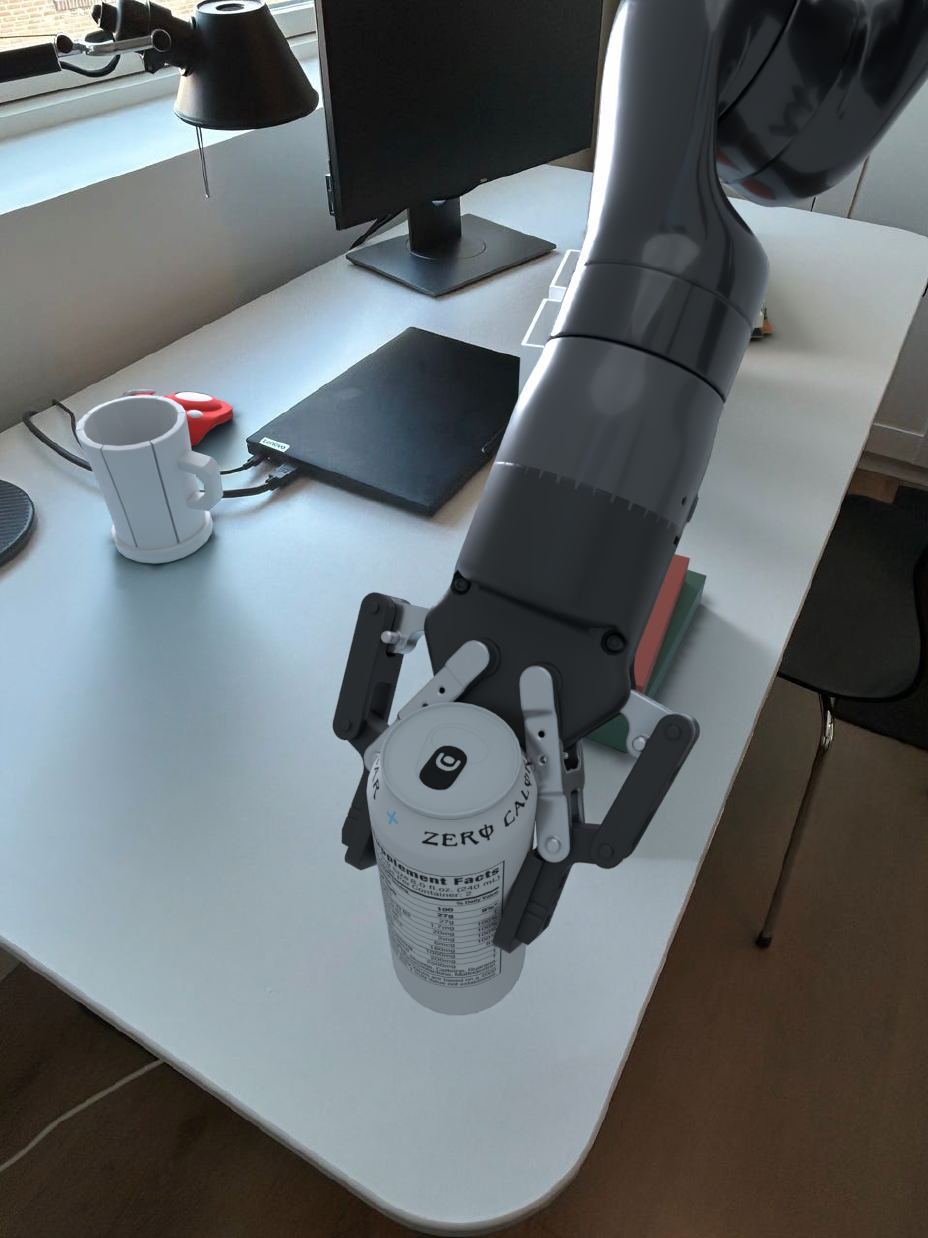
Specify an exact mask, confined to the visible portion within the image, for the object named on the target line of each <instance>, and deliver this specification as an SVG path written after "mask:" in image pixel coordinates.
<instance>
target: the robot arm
mask: <svg viewBox="0 0 928 1238" xmlns="http://www.w3.org/2000/svg"><path fill="white" fill-rule="evenodd" d="M602 70H603V71H602V77H601V86H600V95H599V103H598V104H599V105H598V116H597V129H596V130H597V131H596V141H595V144H596V145H595V150H594V152H595V153H594V162H593V170H592V176H591V184H590V190H589V197H588V206H587V213H586V214H587V215H586V221H585V228H584V235H583V239H582V245H581V247H580V253H579V256H578V259H577V261H576V264H575V267H574V269H573V272H572V275H571V278H570V280H569V282H568V285H567V288H566V290H565V293H564V296H563V298H562V301H561V304H560V306H559V309H558V312H557V314H556V317H555V320H554V322H553V325H552V328H551V330H550V333H549V336H548V338H547V341H546V342H547V343H546V344H545V346H544V349H543V351H542V353H541V356H540V358H539V360H538V362H537V364H536V366H535V368H534V369H533V371H532V373H531V375H530V377H529V378H528V380H527V382H526V384H525V386H524V388H523V390H522V392H521V394H520V396H519V395H518V398H517V401H516V403H515V405H514V408H513V410H512V413H511V415H510V418H509V421H508V423H507V427H506V429H505V432H504V434H503V437H502V440H501V443H500V446H499V448H498V449H497V453H496V456H495V459H494V461H493V464H492V466H491V468H490V471H489V474H488V477H487V480H486V482H485V485H484V486H483V487H484V488H483V490H482V492H481V495H480V496H481V497H480V498H479V501H478V504H477V506H476V509H475V511H474V515H473V517H472V520H471V522H470V525H469V528H468V529H467V533H466V535H465V538H464V541H463V543H462V546H461V548H460V552H459V554H458V557H457V559H456V562H455V565H454V570H453V575H452V578H451V582H450V585H449V587H448V589H447V590H446V591H445V593H443V595H442V596H441V597H440V598H439V599H438V600H437V601H436V602H434V604H433V605H432V606H431V607H429V608H427V607H424V606H419V605H414V604H411V602H410V601H409V600H407V599H404V598H400V597H397V596H393V595H388V594H385V593H380V592H376V591H374V592H369V593H368V594H366V595H365V596H364V597H363V599H362V601H361V603H360V606H359V609H358V610H359V611H358V614H357V619H356V623H355V628H354V632H353V635H352V640H351V644H350V648H349V652H348V656H347V661H346V665H345V669H344V674H343V678H342V682H341V686H340V690H339V694H338V698H337V702H336V706H335V710H334V714H333V718H332V731H333V733H334V735H335V736H336V738H337V739H339V740H341V741H347V742H348V743H349V744H350V746H352V747H353V749H355V751H356V752H357V753H358V754H359V755H360V758H361V760H362V765H363V770H362V773H361V774H362V775H361V777H360V779H359V782H358V785H357V788H356V790H355V793H354V795H353V798H352V801H351V804H350V806H349V809H348V812H347V816H346V817H345V820H344V822H343V825H342V827H341V828H342V829H341V844H343V845H344V846H346V847H347V848H346V851H345V854H344V862H345V863H346V864H348V865H350V866H352V867H353V868H355V869H356V870H359V871H364V870H367V869H369V868H373V867H375V866H377V859H376V853H375V846H374V840H373V833H372V827H371V821H370V814H369V808H368V800H367V784H368V777H369V774H370V772H371V769H372V766H373V764H374V762H375V761H376V759H377V758H378V756H379V754H380V753H381V749H382V746H383V743H384V741H385V739H386V737H387V735H388V734H389V732H390V731H391V729H392V728H393V727H394V726H395V725H396V724H397V723H398V722H399V721H400V720H401V719H403V718H404V717H406V716H407V715H408V714H410V713H412V712H414V711H416V710H418V709H420V708H423V707H426V706H429V705H433V704H438V703H445V702H460V703H466V704H472V705H475V706H478V707H482V708H485V709H486V710H488V711H490V712H492V713H494V714H496V715H497V716H498V717H500V718H501V719H502V720H504V721H505V722H506V723H507V725H508V726H509V727H510V728H511V729H512V730H513V732H514V734H515V736H516V737H517V739H518V742H519V745H520V747H521V749H522V750H523V751H524V752H525V753H526V755H527V762H528V764H529V766H530V769H531V771H532V773H533V775H534V778H535V782H536V785H537V804H536V813H535V837H536V846H535V848H533V850H531V851H529V852H528V853H527V855H526V857H525V859H524V862H523V864H522V866H521V868H520V870H519V873H518V875H517V877H516V880H515V883H514V885H513V888H512V890H511V893H510V896H509V898H508V901H507V903H506V906H505V909H504V911H503V914H502V916H501V919H500V922H499V924H498V927H497V929H496V932H495V935H494V937H493V941H492V944H493V945H494V946H496V947H498V948H500V949H502V950H504V951H505V952H507V953H509V954H510V953H511V952H513V951H514V950H515V949H516V948H518V947H519V946H520V945H521V944H522V943H524V944H526V946H529V945H531V944H532V943H533V942H534V941H535V940H536V939H537V938H539V937H540V936H541V935H542V934H543V933H544V932H545V931H546V930H547V928H548V927H550V924H551V921H552V919H553V916H554V913H555V911H556V908H557V907H558V905H559V904H558V903H559V901H560V898H561V896H562V892H563V890H564V888H565V886H566V882H567V880H568V878H569V875H570V873H571V871H572V868H573V866H574V864H589V865H590V864H591V865H595V866H597V867H598V868H601V869H604V870H611V869H614V868H616V867H618V866H619V865H620V864H621V863H622V862H623V861H624V860H626V859H627V858H629V857H630V856H631V855H632V854H633V853H634V852H635V851H636V848H637V847H638V845H639V844H640V843H641V842H640V841H641V840H642V838H643V837H644V834H645V833H646V831H647V829H648V828H649V826H650V824H651V822H652V821H653V819H654V818H655V816H656V813H657V812H658V810H659V808H660V806H661V805H662V803H663V801H664V800H665V798H666V796H667V794H668V793H669V791H670V789H671V787H672V785H673V783H674V782H675V780H676V779H677V777H678V775H679V773H680V772H681V770H682V768H683V766H684V764H685V762H686V761H687V759H688V757H689V756H690V753H691V752H692V750H693V749H694V747H695V744H696V743H697V741H698V740H699V738H700V734H701V727H700V724H699V722H698V720H697V719H696V718H695V717H694V716H693V715H690V714H688V713H684V712H676V711H674V710H672V709H671V708H668V707H667V706H665V705H664V704H661V703H660V702H658V701H656V700H654V698H653V699H651V698H649V697H647V696H646V695H644V694H642V693H640V692H639V691H637V690H636V680H635V673H634V664H635V657H636V653H637V650H638V647H639V645H640V642H641V639H642V637H643V634H644V632H645V629H646V626H647V624H648V621H649V619H650V616H651V613H652V611H653V608H654V606H655V603H656V601H657V598H658V595H659V593H660V590H661V588H662V585H663V582H664V580H665V577H666V575H667V572H668V570H669V567H670V564H671V562H672V559H673V557H674V554H676V552H677V549H678V547H679V544H680V542H681V539H682V536H683V533H684V531H685V528H686V526H687V525H688V524H689V523H690V522H691V520H692V518H693V515H694V513H695V511H696V508H697V506H698V503H699V500H700V497H699V492H700V490H701V487H702V485H703V482H704V479H705V477H706V474H707V470H708V467H709V464H710V461H711V457H712V454H713V450H714V445H715V441H716V437H717V432H718V428H719V424H720V419H721V417H722V414H723V412H724V408H725V405H726V403H727V400H728V397H729V395H730V393H731V390H732V388H733V385H734V382H735V381H736V377H737V375H738V372H739V369H740V367H741V364H742V361H743V360H744V356H745V354H746V351H747V349H748V347H749V343H750V341H751V338H752V337H751V335H752V333H753V330H754V328H755V325H756V323H757V320H758V318H759V315H760V312H761V309H762V310H763V306H764V303H765V300H766V296H767V293H768V289H769V284H770V283H769V282H770V262H769V258H768V255H767V253H766V250H765V249H764V247H763V245H762V243H761V242H760V240H759V238H758V237H757V235H756V234H755V233H754V231H753V229H751V227H750V225H748V223H747V222H746V221H745V220H744V219H743V217H742V216H741V214H740V213H739V212H738V210H737V209H736V208H735V207H734V205H733V203H732V202H731V200H730V199H729V198H728V196H727V194H726V193H725V190H724V188H723V186H725V187H726V188H728V189H729V190H731V191H732V192H733V193H734V194H737V195H738V196H739V197H741V198H743V200H746V201H748V202H750V203H753V204H755V205H757V206H759V207H764V208H782V207H783V208H784V207H789V206H793V205H797V204H801V203H804V202H807V201H809V200H813V199H815V198H817V197H819V196H820V195H822V194H824V193H827V192H828V191H830V190H832V189H833V188H836V186H837V185H839V184H840V183H842V182H843V181H845V180H846V179H847V178H848V177H849V176H850V175H852V173H854V172H855V171H856V170H857V169H858V168H859V167H860V166H861V165H862V164H863V163H864V162H865V161H866V160H867V159H868V157H869V156H870V155H871V154H872V153H873V152H874V150H875V149H876V148H877V147H878V146H879V145H880V144H881V142H882V141H883V139H884V138H885V137H886V136H887V135H888V133H889V132H890V130H891V129H892V128H893V127H894V125H895V124H896V122H897V121H898V120H899V119H900V117H901V116H902V114H903V113H904V112H905V111H906V109H907V108H908V106H909V105H910V104H911V102H913V100H914V99H915V97H916V96H917V95H918V93H919V92H920V90H921V89H922V88H923V87H924V85H925V84H926V83H927V82H928V0H620V3H619V5H618V8H617V11H616V13H615V17H614V20H613V24H612V27H611V31H610V34H609V39H608V42H607V46H606V51H605V57H604V63H603V69H602ZM722 185H723V186H722ZM423 636H424V639H425V643H426V647H427V652H428V657H429V661H430V666H431V670H432V675H433V677H432V678H431V679H430V680H428V682H427V683H426V684H424V686H423V687H421V689H420V690H419V691H417V693H416V694H415V695H414V696H413V697H412V698H411V699H409V700H408V702H406V703H405V705H404V706H403V707H402V708H401V709H399V711H398V712H397V714H396V718H395V720H394V721H393V722H392V723H391V724H390V725H389V724H388V723H389V719H390V715H391V710H392V708H393V707H392V706H393V703H394V699H395V694H396V690H397V686H398V681H399V678H400V673H401V670H402V665H403V661H404V657H405V655H409V654H410V653H412V652H413V651H414V650H415V648H416V647H417V644H418V641H420V639H421V638H422V637H423ZM620 714H623V715H624V716H625V717H626V719H627V721H628V723H629V733H628V736H627V738H626V747H627V750H628V752H627V753H629V755H630V756H631V757H632V758H633V759H635V760H636V761H635V763H634V764H633V766H632V768H631V770H630V772H629V773H628V775H627V777H626V778H625V780H624V782H623V784H622V786H621V787H620V789H619V791H618V793H617V795H616V797H615V798H614V800H613V801H612V804H611V805H610V807H609V809H608V811H607V812H606V814H605V816H604V818H603V820H602V821H601V823H593V822H592V823H591V822H586V814H585V802H584V788H585V783H586V771H585V770H586V769H585V757H584V745H583V739H584V738H586V737H585V736H587V735H588V734H590V733H592V732H593V731H595V730H596V729H598V728H600V727H601V726H603V725H604V724H606V723H608V722H609V721H611V720H612V719H614V718H615V717H617V716H619V715H620ZM566 754H567V756H566ZM545 759H546V761H545Z"/></svg>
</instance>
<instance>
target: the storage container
mask: <svg viewBox="0 0 928 1238" xmlns="http://www.w3.org/2000/svg"><path fill="white" fill-rule="evenodd" d="M580 250H581V249H580ZM580 250H578V249H571V248H569V249H567V250H566V252H565V254H564V256H563V258H562V260H561V262H560V264H559V267H558V269H557V270H556V272H555V275H554V277H553V278H552V281H551V282H550V285H549V286H548V287H549V288H548V289H549V290H548V298H543V299H542V301H541V302H540V305H539V308H538V309H537V311H536V313H535V315H534V317H533V319H532V321H531V324H530V325H529V326H528V327H529V328H528V329H527V330H526V331H527V332H526V333H525V336H524V338H523V339H522V342H521V344H520V352H519V353H520V355H519V374H518V375H519V380H518V397H519V396H520V394H521V392H522V390H523V388H524V386H525V384H526V382H527V380H528V378H529V377H530V375H531V373H532V371H533V369H534V368H535V366H536V364H537V362H538V360H539V358H540V356H541V353H542V351H543V349H544V346H545V344H546V343H547V342H546V341H547V338H548V336H549V333H550V330H551V328H552V325H553V322H554V320H555V317H556V314H557V312H558V309H559V306H560V304H561V301H562V298H563V296H564V293H565V290H566V288H567V285H568V282H569V280H570V278H571V275H572V272H573V269H574V267H575V264H576V261H577V259H578V256H579V253H580Z"/></svg>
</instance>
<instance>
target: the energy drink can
mask: <svg viewBox="0 0 928 1238" xmlns="http://www.w3.org/2000/svg"><path fill="white" fill-rule="evenodd" d="M367 800H368V808H369V814H370V821H371V827H372V833H373V840H374V846H375V853H376V859H377V865H376V866H377V871H378V877H379V884H380V891H381V897H382V898H381V899H382V903H383V909H384V916H385V923H386V929H387V935H388V942H389V943H388V944H389V949H390V955H391V956H390V957H391V961H392V967H393V970H394V973H395V975H396V976H395V977H396V978H397V980H398V982H399V983H400V985H401V987H402V989H403V990H404V992H406V993H407V995H408V996H409V997H410V998H411V999H412V1000H413V1001H415V1002H416V1003H418V1004H419V1005H420V1006H422V1007H424V1008H426V1009H428V1010H430V1011H433V1012H434V1013H438V1014H441V1015H442V1014H443V1015H446V1016H468V1015H474V1014H478V1013H480V1012H483V1011H485V1010H488V1009H490V1008H492V1007H493V1006H495V1005H496V1004H498V1003H500V1002H501V1001H502V1000H503V999H504V998H505V997H506V996H507V995H509V994H510V993H511V991H512V990H513V989H514V987H515V985H516V984H517V982H518V981H519V980H520V976H521V975H522V972H523V969H524V966H525V959H526V951H527V945H526V944H524V943H522V944H521V945H520V946H519V947H518V948H516V949H515V950H514V951H513V952H511V953H510V954H509V953H507V952H505V951H504V950H502V949H500V948H498V947H496V946H494V945H493V944H492V941H493V937H494V935H495V932H496V929H497V927H498V924H499V922H500V919H501V916H502V914H503V911H504V909H505V906H506V903H507V901H508V898H509V896H510V893H511V890H512V888H513V885H514V883H515V880H516V877H517V875H518V873H519V870H520V868H521V866H522V864H523V862H524V859H525V857H526V855H527V853H528V852H529V851H531V850H533V849H534V842H535V832H536V823H535V813H536V804H537V785H536V782H535V778H534V775H533V773H532V771H531V769H530V766H529V764H528V762H527V755H526V753H525V752H524V751H523V750H522V749H521V747H520V745H519V742H518V739H517V737H516V736H515V734H514V732H513V730H512V729H511V728H510V727H509V726H508V725H507V723H506V722H505V721H504V720H502V719H501V718H500V717H498V716H497V715H496V714H494V713H492V712H490V711H488V710H486V709H485V708H482V707H478V706H475V705H472V704H466V703H460V702H445V703H438V704H433V705H429V706H426V707H423V708H420V709H418V710H416V711H414V712H412V713H410V714H408V715H407V716H406V717H404V718H403V719H401V720H400V721H399V722H398V723H397V724H396V725H395V726H394V727H393V728H392V729H391V731H390V732H389V734H388V735H387V737H386V739H385V741H384V743H383V746H382V749H381V753H380V754H379V756H378V758H377V759H376V761H375V762H374V764H373V766H372V769H371V772H370V774H369V777H368V784H367Z"/></svg>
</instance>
